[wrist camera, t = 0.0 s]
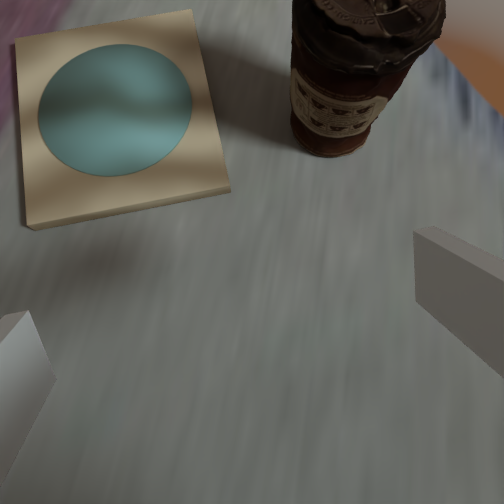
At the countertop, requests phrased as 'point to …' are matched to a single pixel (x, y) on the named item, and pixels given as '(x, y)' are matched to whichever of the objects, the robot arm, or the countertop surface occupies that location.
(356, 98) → the coffee cup
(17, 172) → the countertop surface
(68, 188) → the oak board
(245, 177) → the countertop surface
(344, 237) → the countertop surface
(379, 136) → the countertop surface
